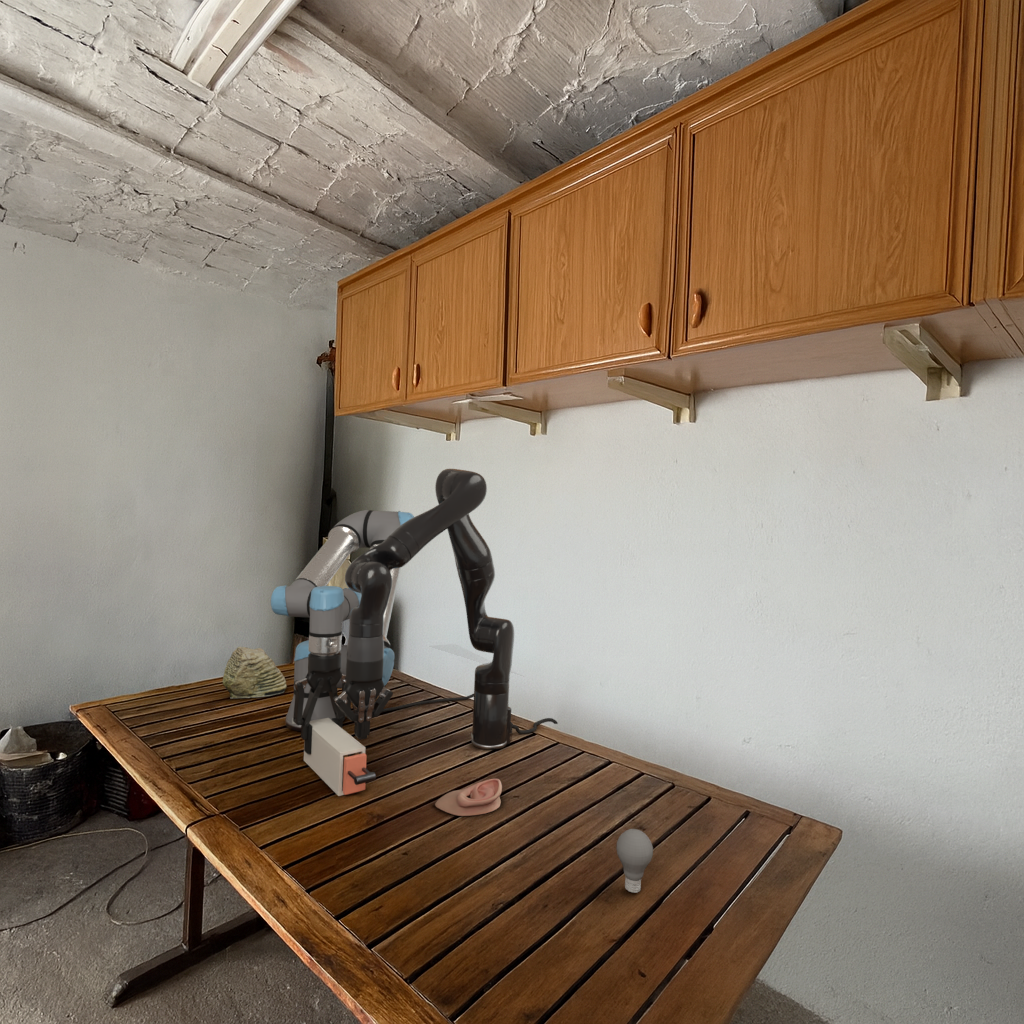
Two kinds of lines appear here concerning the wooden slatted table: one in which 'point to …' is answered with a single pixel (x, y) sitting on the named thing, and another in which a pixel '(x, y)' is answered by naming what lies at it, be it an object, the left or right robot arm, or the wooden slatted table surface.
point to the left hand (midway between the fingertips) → (321, 749)
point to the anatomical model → (472, 799)
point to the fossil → (252, 674)
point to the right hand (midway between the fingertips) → (362, 738)
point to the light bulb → (634, 857)
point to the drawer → (355, 773)
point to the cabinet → (330, 752)
